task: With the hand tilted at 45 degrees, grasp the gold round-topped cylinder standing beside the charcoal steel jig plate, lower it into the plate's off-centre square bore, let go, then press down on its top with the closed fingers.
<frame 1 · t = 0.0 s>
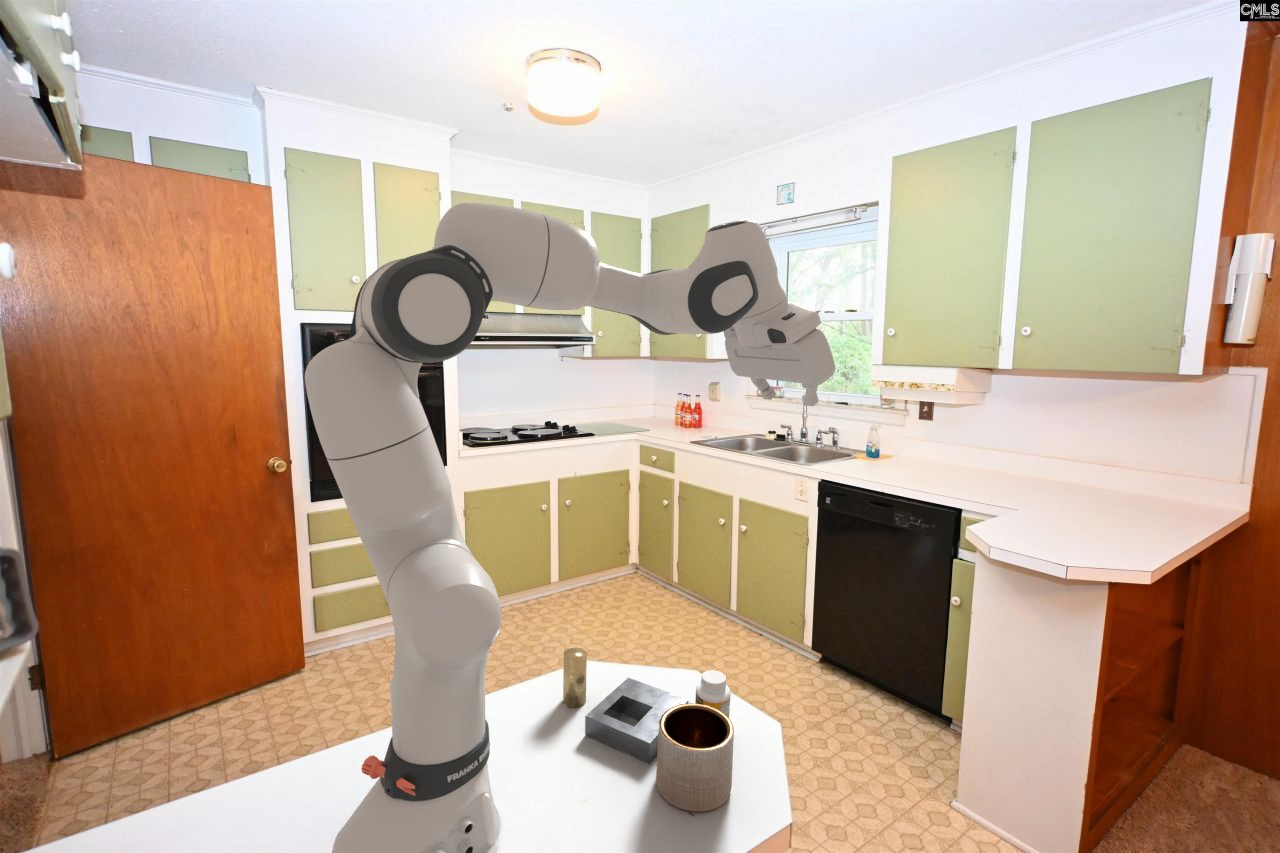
hand: (790, 400, 97), 54 cm above the counter, tool tilted 30°, fingers open, 8 cm apart
gold round-topped cylinder: (574, 700, 106), on the counter
planter: (693, 787, 87), on the counter
jig plate: (637, 726, 99), on the counter
supplement bottle: (710, 735, 98), on the counter
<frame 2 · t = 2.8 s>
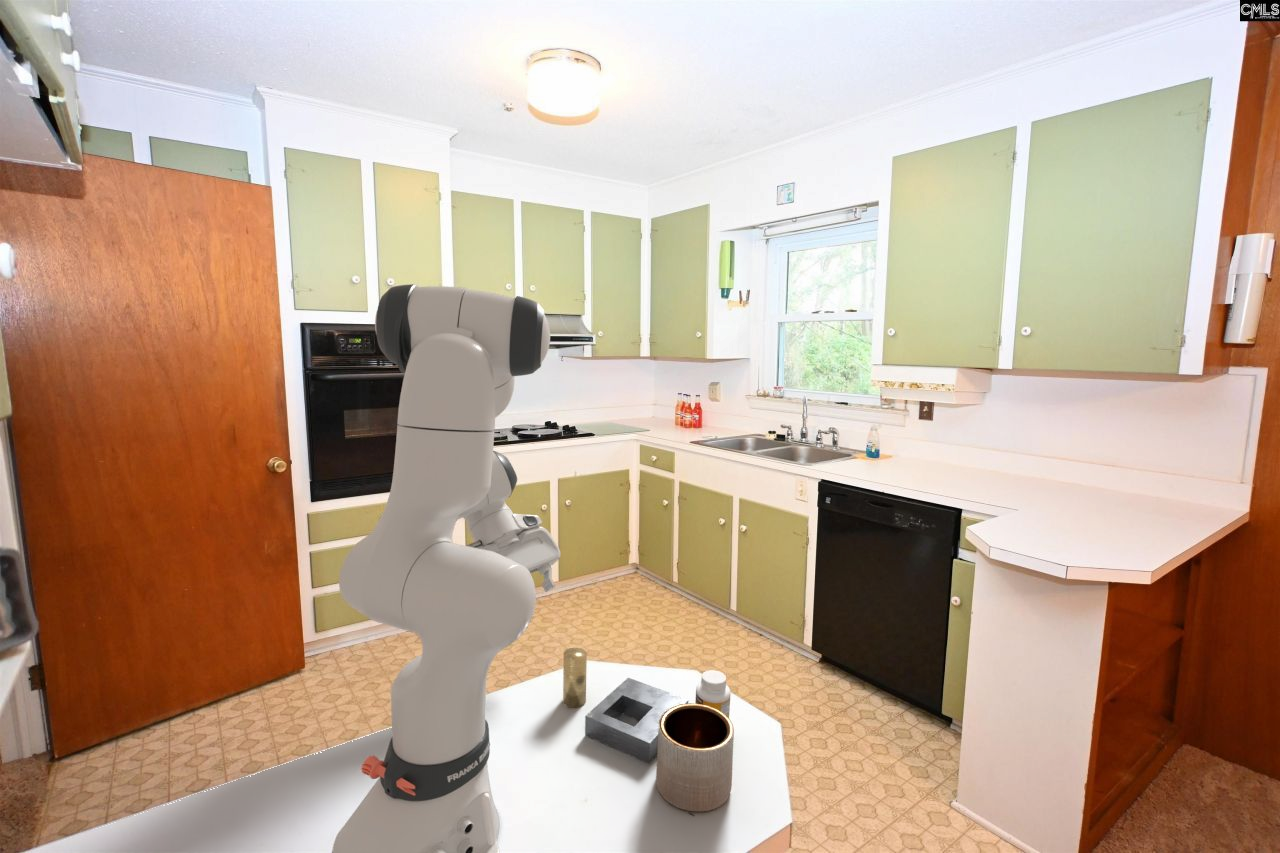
hand: (531, 598, 111), 15 cm above the counter, tool tilted 45°, fingers open, 8 cm apart
nothing on the counter moved.
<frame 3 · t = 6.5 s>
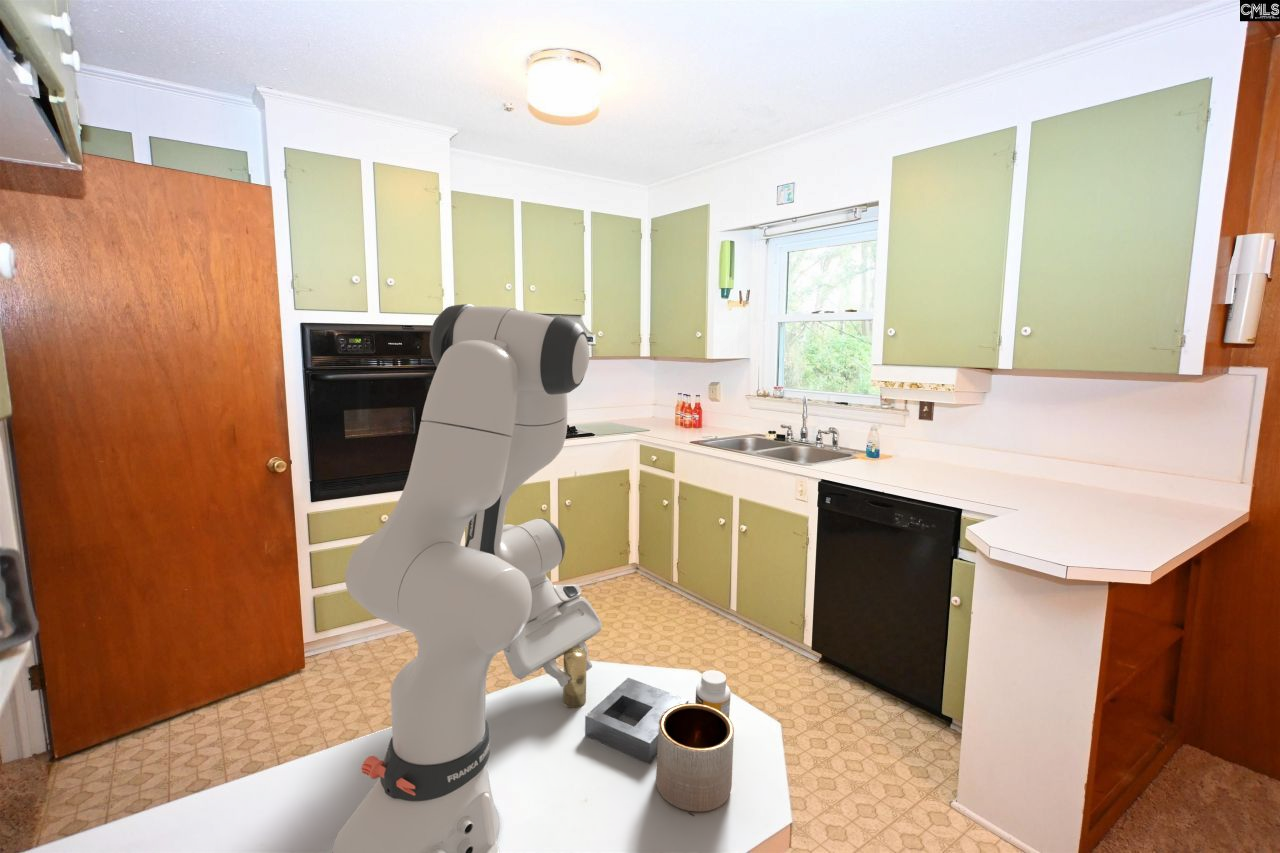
hand: (577, 677, 105), 5 cm above the counter, tool tilted 45°, fingers closed on gold round-topped cylinder, 4 cm apart
gold round-topped cylinder: (574, 700, 106), on the counter, touching gripper
everything else where it was.
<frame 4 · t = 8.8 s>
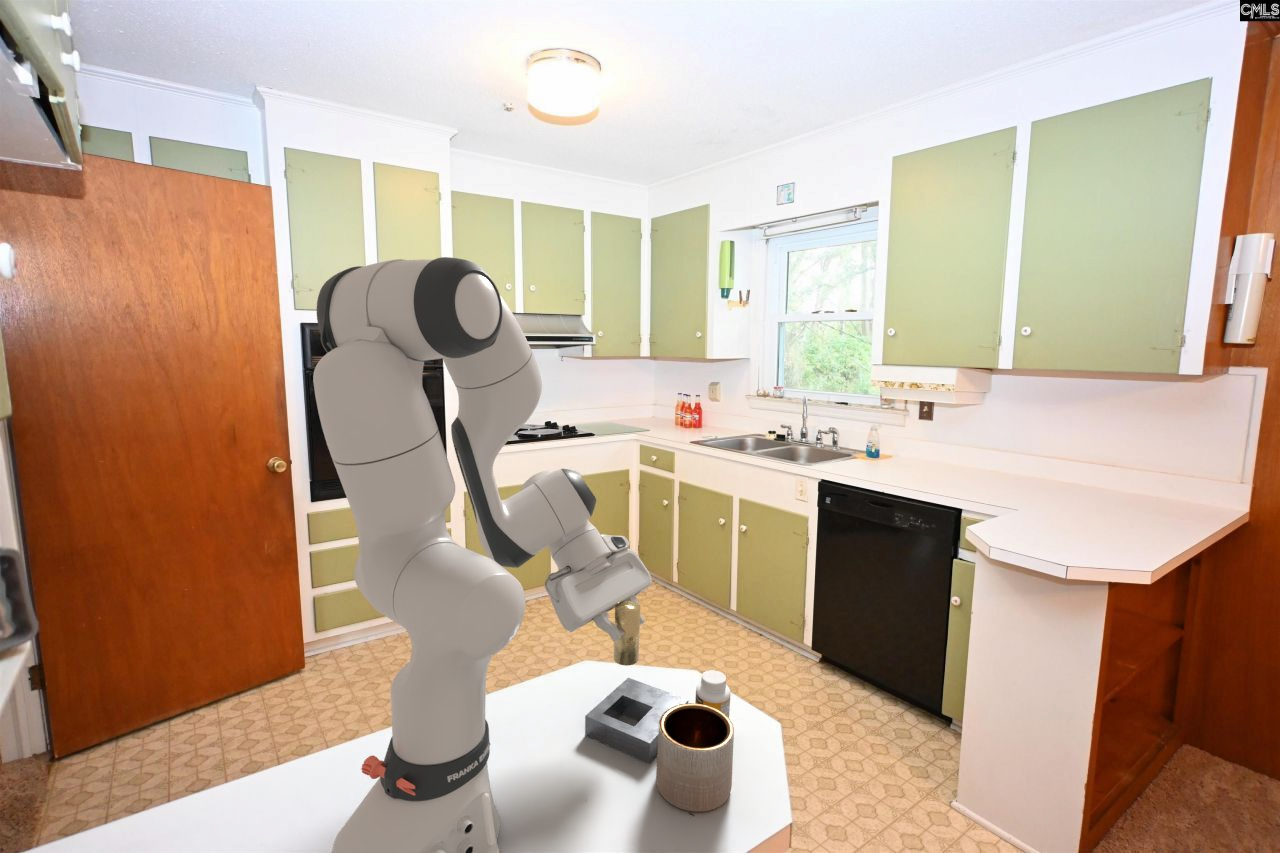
hand: (630, 632, 96), 17 cm above the counter, tool tilted 45°, fingers closed on gold round-topped cylinder, 4 cm apart
gold round-topped cylinder: (626, 658, 97), point 12 cm above the counter, touching gripper
everything else where it was.
when the fingers open (6 cm above the counter, at t = 11.1 s): gold round-topped cylinder stays where it is, resting in jig plate.
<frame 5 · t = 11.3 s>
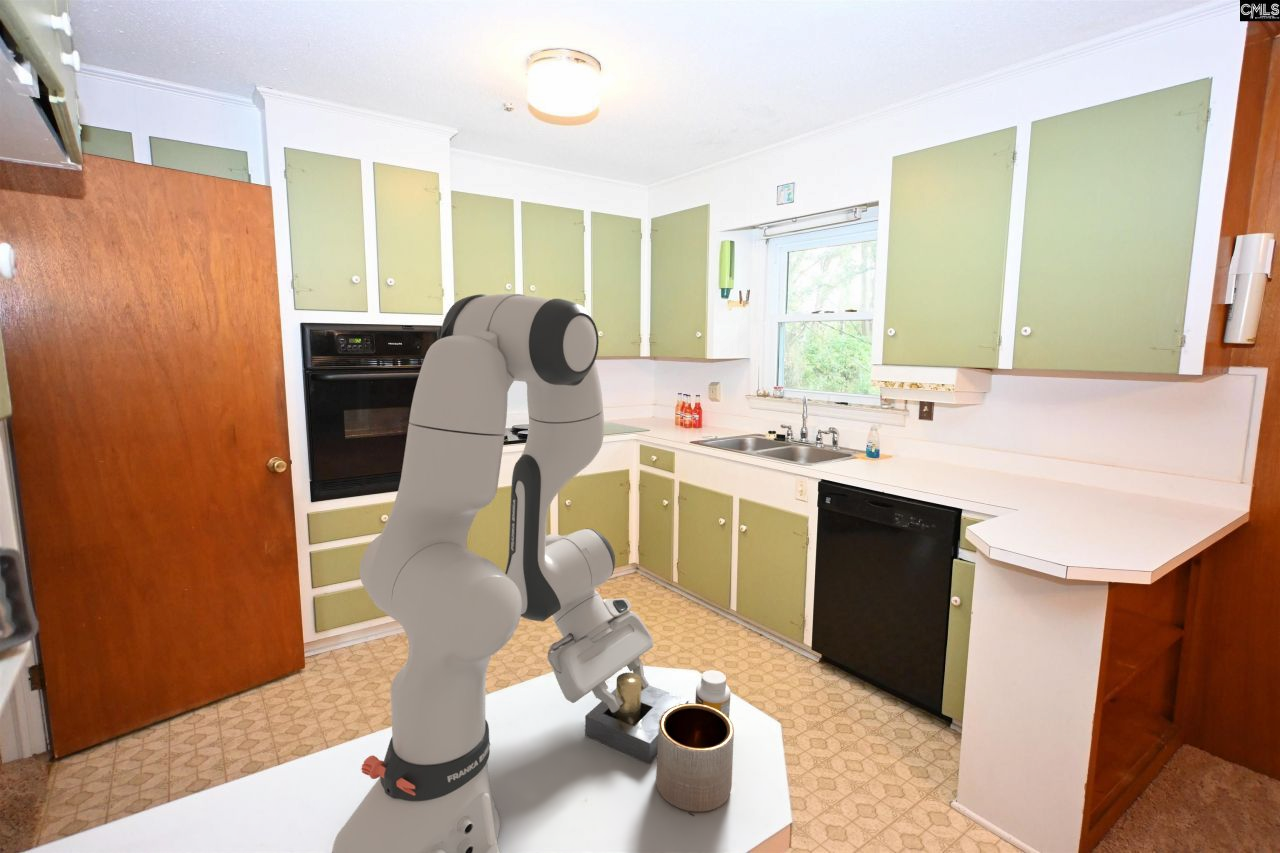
hand: (631, 699, 97), 6 cm above the counter, tool tilted 45°, fingers open, 5 cm apart
gold round-topped cylinder: (627, 730, 99), resting in jig plate
everything else where it was.
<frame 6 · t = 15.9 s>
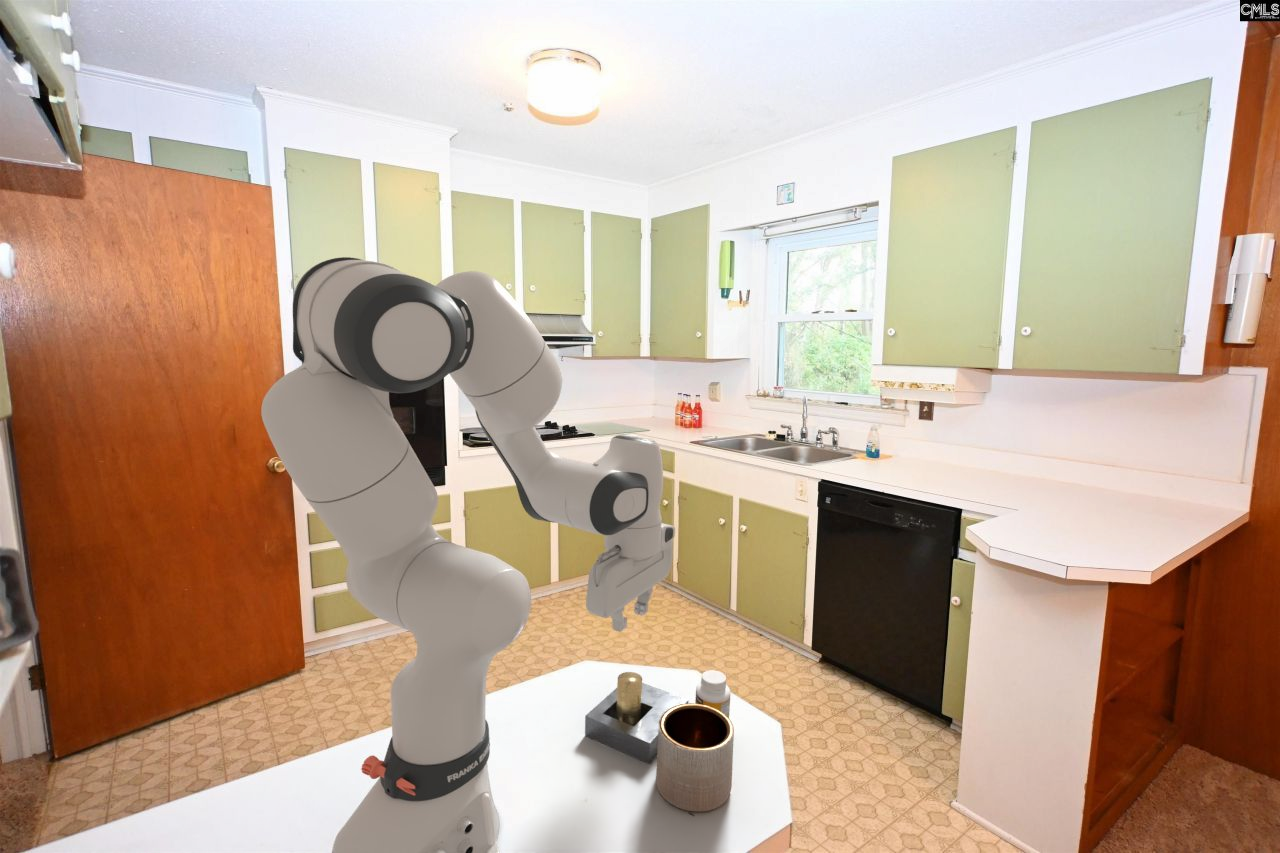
hand: (630, 621, 96), 19 cm above the counter, tool pointing down, fingers open, 5 cm apart
nothing on the counter moved.
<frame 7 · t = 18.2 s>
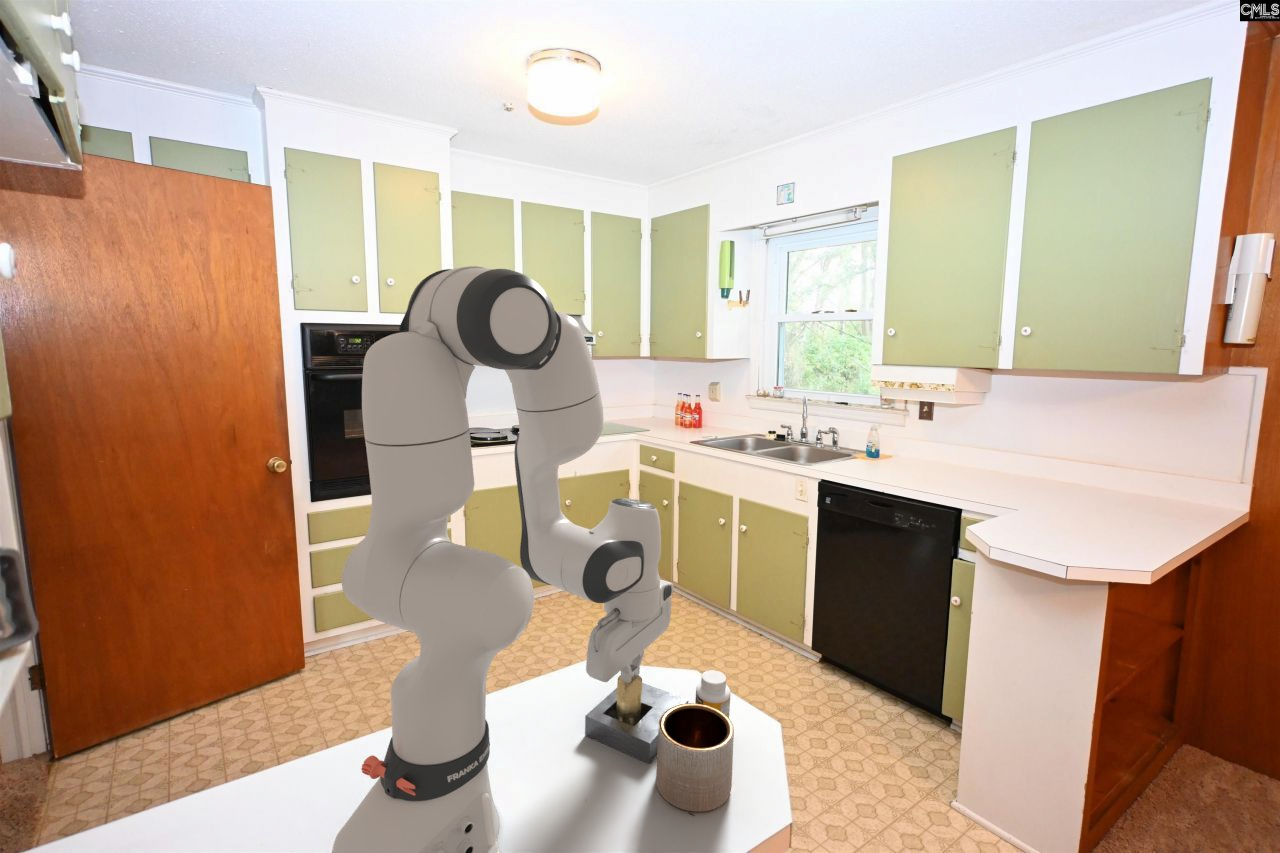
hand: (630, 678, 97), 9 cm above the counter, tool pointing down, fingers closed, pressing on gold round-topped cylinder
gold round-topped cylinder: (627, 729, 99), resting in jig plate, touching gripper
everything else where it was.
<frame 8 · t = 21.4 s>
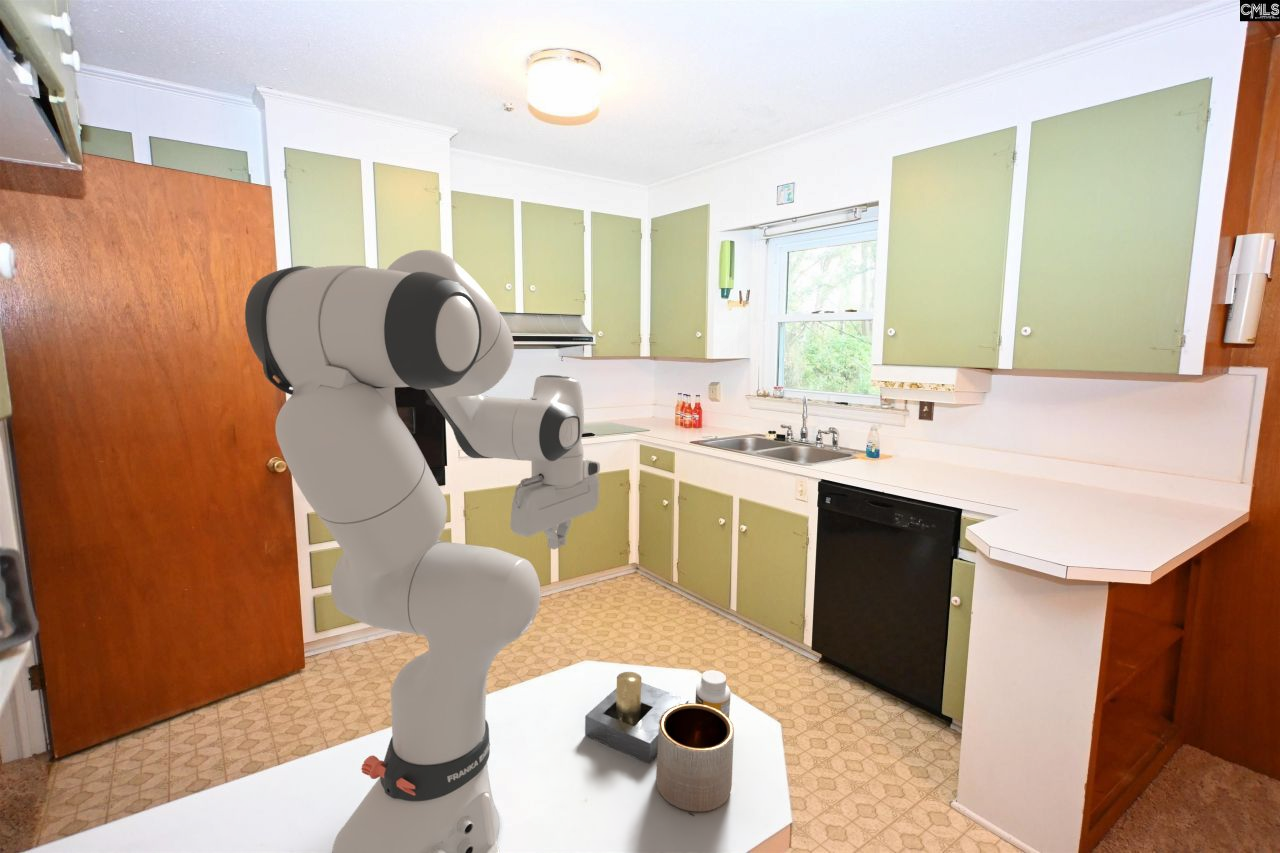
hand: (557, 546, 105), 27 cm above the counter, tool pointing down, fingers closed
gold round-topped cylinder: (627, 729, 99), resting in jig plate
everything else where it was.
at the end: gold round-topped cylinder 0.0 cm from the target spot on the jig plate, point 0.0 cm above the jig plate's base; gold round-topped cylinder tilted 2°; the gripper is holding nothing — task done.
